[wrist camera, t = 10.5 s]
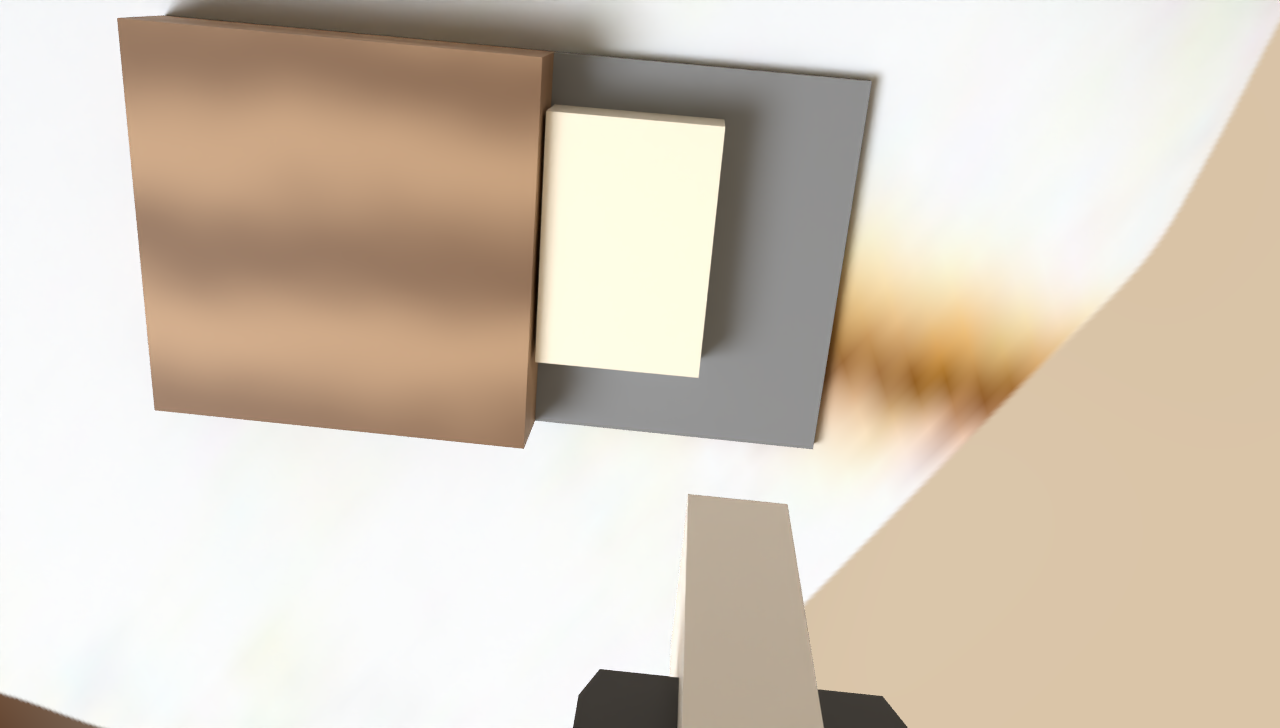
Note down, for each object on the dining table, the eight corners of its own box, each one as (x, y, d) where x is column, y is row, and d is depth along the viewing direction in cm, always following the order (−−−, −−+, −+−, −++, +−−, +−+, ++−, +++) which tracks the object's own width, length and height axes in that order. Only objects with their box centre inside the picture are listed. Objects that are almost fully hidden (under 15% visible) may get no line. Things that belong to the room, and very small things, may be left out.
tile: (554, 104, 36) (546, 110, 34) (724, 119, 35) (725, 126, 33) (543, 343, 39) (535, 362, 37) (698, 358, 39) (698, 378, 37)
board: (163, 15, 36) (117, 17, 33) (555, 51, 35) (542, 57, 32) (192, 380, 41) (154, 410, 38) (536, 416, 40) (523, 448, 37)
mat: (555, 51, 35) (553, 52, 35) (870, 80, 35) (871, 81, 35) (536, 416, 40) (535, 420, 40) (811, 444, 40) (812, 449, 40)
